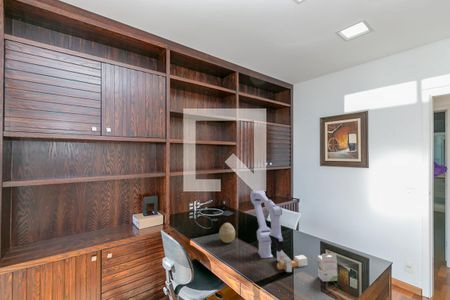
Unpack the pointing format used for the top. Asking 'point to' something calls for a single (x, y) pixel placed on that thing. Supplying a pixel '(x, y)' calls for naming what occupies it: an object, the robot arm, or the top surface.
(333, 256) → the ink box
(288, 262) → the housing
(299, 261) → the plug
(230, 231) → the fossilized egg
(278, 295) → the top surface
